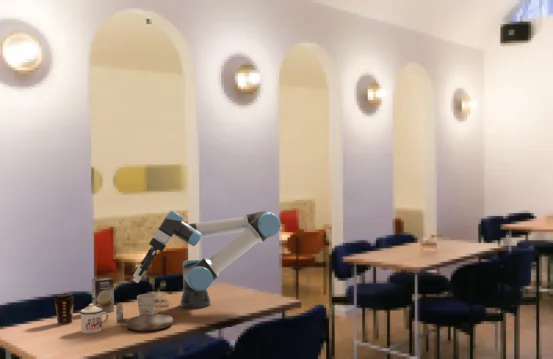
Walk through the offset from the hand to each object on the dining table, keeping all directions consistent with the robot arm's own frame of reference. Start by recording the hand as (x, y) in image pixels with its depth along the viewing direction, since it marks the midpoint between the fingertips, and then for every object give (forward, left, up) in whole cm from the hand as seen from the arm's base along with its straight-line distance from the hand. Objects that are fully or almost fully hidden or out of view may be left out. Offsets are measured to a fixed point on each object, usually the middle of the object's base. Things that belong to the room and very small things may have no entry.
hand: (135, 279), depth 284 cm
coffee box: (+15, -15, -18) cm, 28 cm away
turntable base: (-6, +22, -17) cm, 29 cm away
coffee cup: (+31, +3, -18) cm, 36 cm away
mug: (-7, +2, -18) cm, 19 cm away
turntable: (-3, +22, -16) cm, 28 cm away
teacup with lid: (+17, +21, -18) cm, 32 cm away
